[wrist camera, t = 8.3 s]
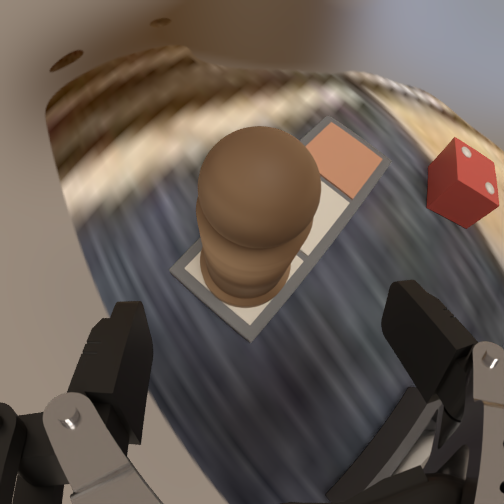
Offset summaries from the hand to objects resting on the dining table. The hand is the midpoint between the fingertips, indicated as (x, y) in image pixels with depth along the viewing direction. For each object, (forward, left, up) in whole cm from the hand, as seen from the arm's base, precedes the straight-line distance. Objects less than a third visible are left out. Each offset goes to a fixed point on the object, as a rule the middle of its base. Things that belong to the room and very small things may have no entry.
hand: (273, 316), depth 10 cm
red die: (-21, +7, -11) cm, 25 cm away
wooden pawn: (-3, -3, -10) cm, 11 cm away
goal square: (-15, -3, -11) cm, 19 cm away
